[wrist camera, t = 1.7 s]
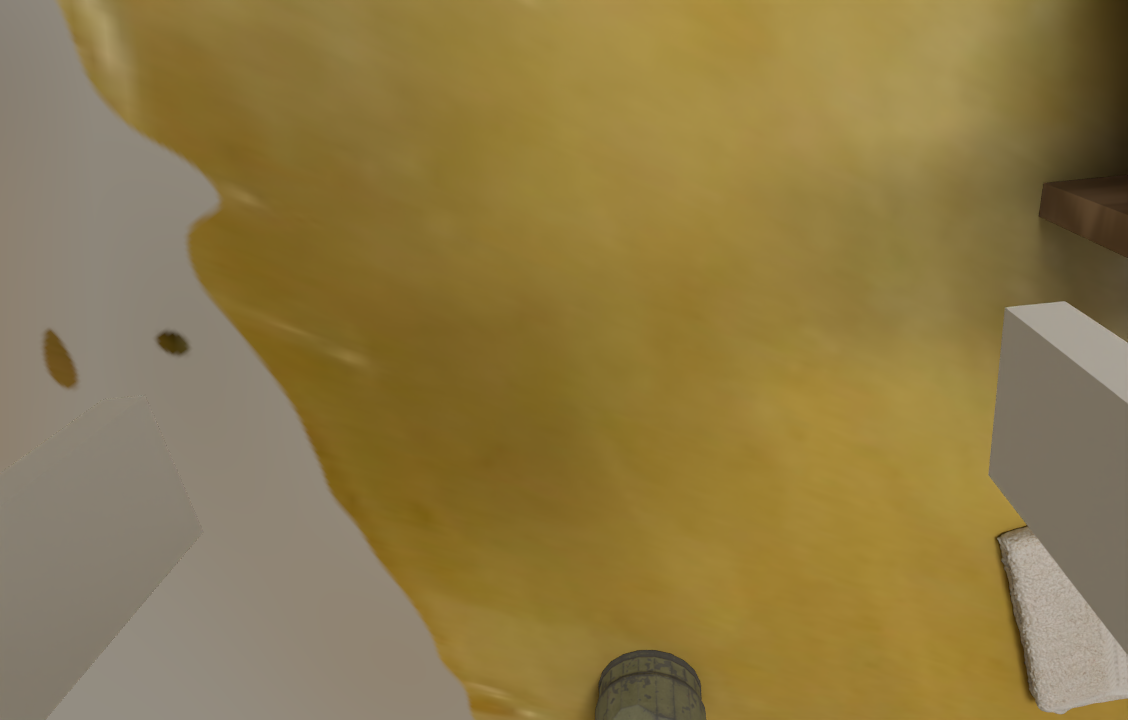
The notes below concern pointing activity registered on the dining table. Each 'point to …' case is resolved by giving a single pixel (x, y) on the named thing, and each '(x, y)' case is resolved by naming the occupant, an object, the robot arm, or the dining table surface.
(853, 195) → the dining table surface
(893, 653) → the dining table surface
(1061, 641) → the washcloth
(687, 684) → the thermos
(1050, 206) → the walnut stand
